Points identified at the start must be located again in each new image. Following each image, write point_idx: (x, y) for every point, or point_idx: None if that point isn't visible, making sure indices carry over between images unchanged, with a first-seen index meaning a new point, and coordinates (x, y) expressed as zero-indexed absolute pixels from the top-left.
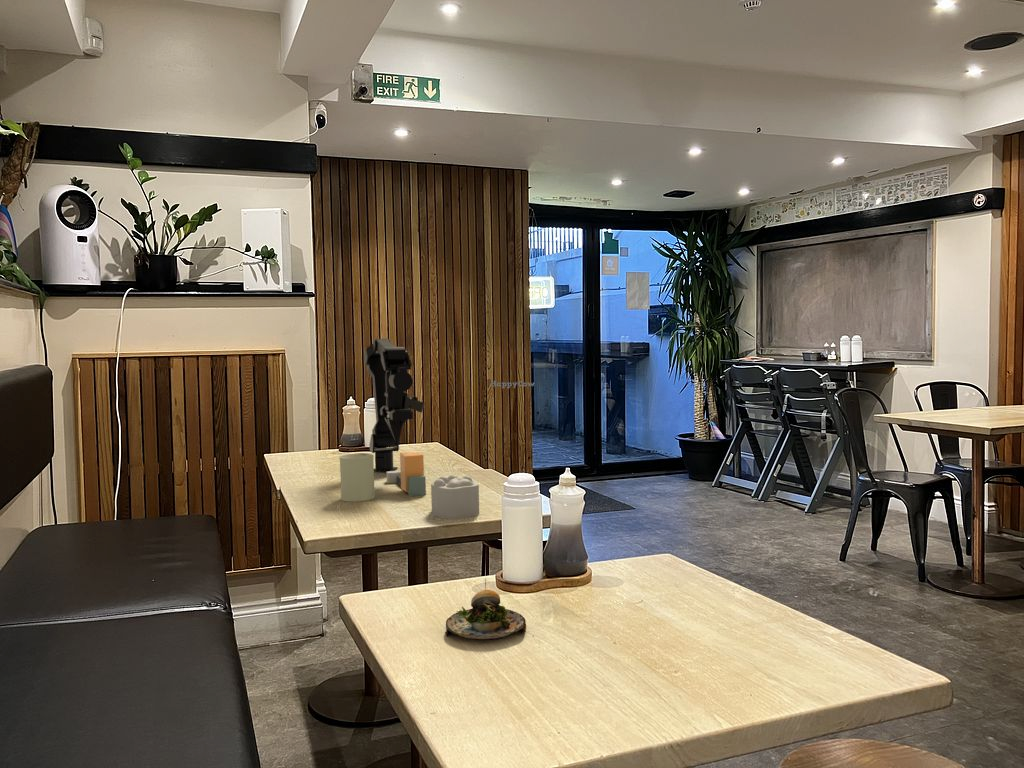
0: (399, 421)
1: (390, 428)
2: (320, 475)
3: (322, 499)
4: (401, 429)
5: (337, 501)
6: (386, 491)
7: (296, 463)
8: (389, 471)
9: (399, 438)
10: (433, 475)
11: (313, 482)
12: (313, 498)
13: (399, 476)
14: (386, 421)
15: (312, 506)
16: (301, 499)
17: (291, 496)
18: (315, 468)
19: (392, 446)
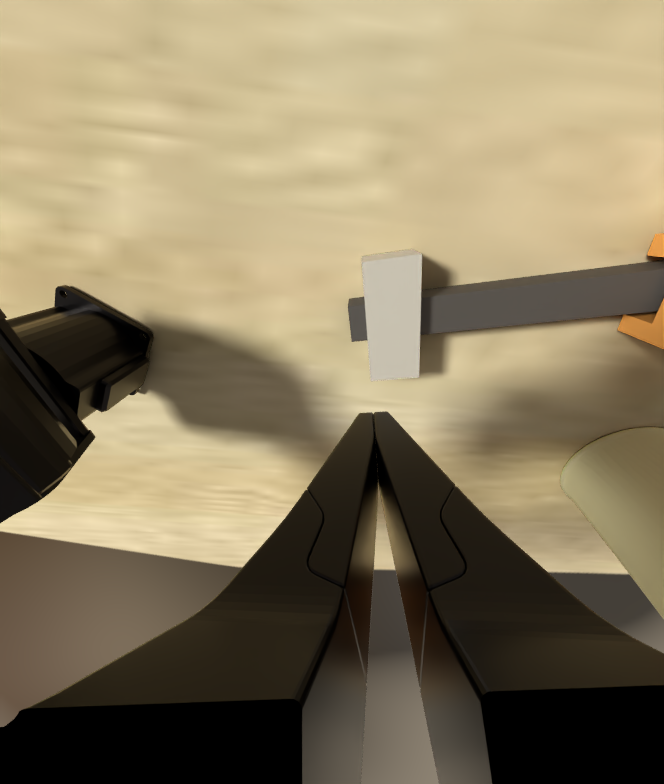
0: (540, 747)
1: (371, 602)
2: (200, 510)
3: (555, 532)
4: (468, 500)
5: None
6: (580, 382)
7: (23, 534)
8: (372, 368)
9: (396, 423)
10: (271, 70)
11: None
12: (525, 544)
13: (442, 324)
14: (297, 755)
15: None
16: None
17: None
18: (90, 510)
19: (7, 357)
